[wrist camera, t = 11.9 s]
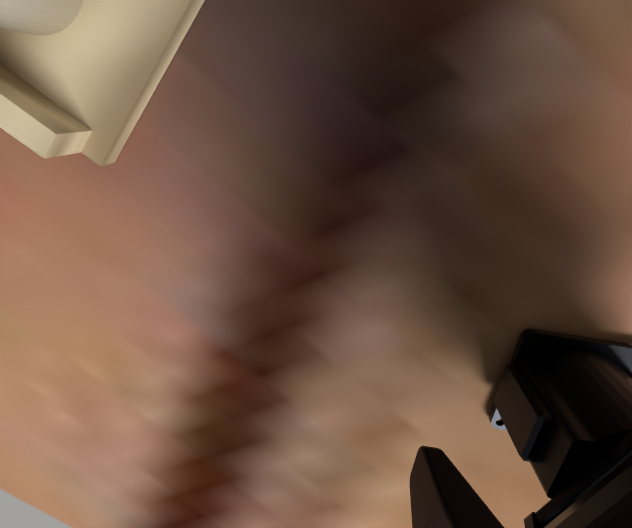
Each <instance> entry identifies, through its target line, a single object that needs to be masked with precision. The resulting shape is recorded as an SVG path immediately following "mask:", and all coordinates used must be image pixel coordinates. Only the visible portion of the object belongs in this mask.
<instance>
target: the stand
mask: <svg viewBox="0 0 632 528" xmlns="http://www.w3.org/2000/svg"><path fill="white" fill-rule="evenodd" d="M204 1H205V0H84V1H83V5H82V7H81V10H80V12H79V14H78V15H77V17H76V18H75V20H74V21H73V22H72V23H71V24H70V25H69V26H68V27H67V28H65V29H64V30H62V31H60V32H58V33H55V34H52V35H47V36H37V35H31V34H26V33H21V32H16V31H12V30H7V29H2V28H0V128H2V129H3V130H5V131H6V132H7V133H9V134H10V135H12V136H13V137H15V138H16V139H17V140H19V141H20V142H22V143H23V144H24V145H26V146H27V147H29V148H30V149H31V150H33V151H34V152H36V153H37V154H38V155H40V156H41V157H43V158H44V159H46V158H51V157H57V156H63V155H69V154H74V153H80V152H81V153H83V154H84V155H86V156H87V157H88V158H90V159H91V160H92V161H94V162H95V163H97V164H98V165H99V166H103V165H107V164H111V163H114V162H115V161H116V159H117V157H118V155H119V153H120V152H121V150H122V148H123V146H124V144H125V143H126V141H127V139H128V137H129V136H130V134H131V132H132V130H133V128H134V127H135V125H136V123H137V121H138V119H139V118H140V116H141V114H142V112H143V110H144V109H145V107H146V105H147V103H148V101H149V100H150V98H151V96H152V94H153V92H154V91H155V89H156V87H157V85H158V83H159V82H160V80H161V78H162V76H163V75H164V73H165V71H166V69H167V67H168V66H169V64H170V62H171V60H172V58H173V57H174V55H175V53H176V51H177V49H178V48H179V46H180V44H181V42H182V40H183V39H184V37H185V35H186V33H187V31H188V30H189V28H190V26H191V24H192V23H193V21H194V19H195V17H196V15H197V14H198V12H199V10H200V8H201V6H202V5H203V3H204Z"/></svg>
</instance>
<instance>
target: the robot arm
mask: <svg viewBox="0 0 632 528" xmlns="http://www.w3.org/2000/svg"><path fill="white" fill-rule="evenodd" d="M531 337H535V338H534V339H533V340H532V341H528V340H529V338H531ZM493 402H494V405H493V408H492V410H491V413H490V416H489V420H490V422H491V424H492V426H493V427H494V428H496V429H500V430H506V431H508V433H509V435H510V437H511V439H512V441H513V443H514V445H515V447H516V449H517V451H518V453H519V455H520V457H521V458H522V459H523V461H529V462H530V463H531V465H532V467H533V469H534V471H535V473H536V475H537V477H538V479H539V481H540V483H541V485H542V487H543V489H544V491H545V492H546V494H547V496H548V497H549V498H551V500H550V501H549V502H548V503H546V504H545V505H544V506H543V507H542V508H541V509H539V510H538V511H537V512H536V513H535V512H532V513H531V514H529V515H528V516H527V517H526V518H525V519H524V524H525V528H632V345H630V344H624V343H617V342H611V341H605V340H599V339H592V338H586V337H580V336H574V335H567V334H561V333H555V332H549V331H543V330H536V329H528V330H525V331H524V332H522V334H521V335H520V338H519V341H518V343H517V346H516V348H515V351H514V353H513V356H512V359H511V361H510V363H509V364H508V365H507V366H506V367H505V370H504V373H503V375H502V378H501V380H500V383H499V386H498V388H497V391H496V394H495V396H494V399H493ZM498 419H501V420H500V421H497V420H498ZM410 497H411V512H412V526H413V528H504V527H503V526H502V524H501V523H500V522H499V521H498V519H497V518H496V517H495V516H494V514H493V513H492V512H491V511H490V509H489V508H488V507H487V506H486V504H485V503H484V502H483V501H482V499H481V498H480V497H479V496H478V494H477V493H476V492H475V491H474V489H473V488H472V487H471V486H470V484H469V483H468V482H467V481H466V480H465V478H464V477H463V476H462V475H461V473H460V472H459V471H458V470H457V468H456V467H455V466H454V465H453V463H452V462H451V461H450V460H449V458H448V457H447V456H446V455H445V453H444V452H443V451H442V450H441V449H439V448H434V447H427V446H421V447H420V448H419V450H418V452H417V455H416V459H415V462H414V465H413V468H412V471H411V475H410Z"/></svg>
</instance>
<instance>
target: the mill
mask: <svg viewBox="0 0 632 528" xmlns="http://www.w3.org/2000/svg"><path fill="white" fill-rule="evenodd" d="M83 1H84V0H0V28H2V29H7V30H12V31H16V32H21V33H26V34H31V35H37V36H47V35H52V34H55V33H58V32H60V31H62V30H64V29H65V28H67V27H68V26H69V25H70V24H71V23H72V22H73V21H74V20H75V18H76V17H77V15H78V14H79V12H80V10H81V7H82V5H83Z"/></svg>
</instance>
